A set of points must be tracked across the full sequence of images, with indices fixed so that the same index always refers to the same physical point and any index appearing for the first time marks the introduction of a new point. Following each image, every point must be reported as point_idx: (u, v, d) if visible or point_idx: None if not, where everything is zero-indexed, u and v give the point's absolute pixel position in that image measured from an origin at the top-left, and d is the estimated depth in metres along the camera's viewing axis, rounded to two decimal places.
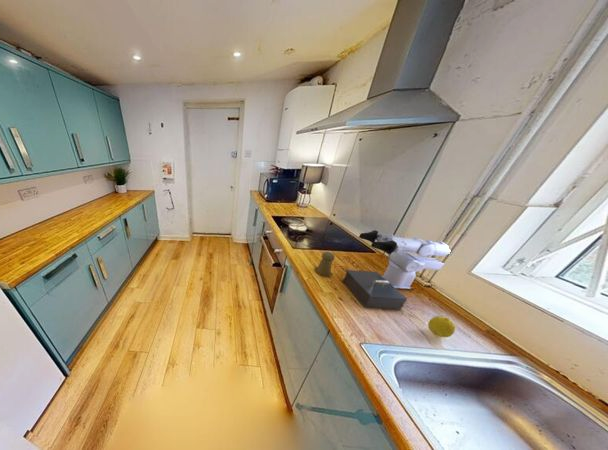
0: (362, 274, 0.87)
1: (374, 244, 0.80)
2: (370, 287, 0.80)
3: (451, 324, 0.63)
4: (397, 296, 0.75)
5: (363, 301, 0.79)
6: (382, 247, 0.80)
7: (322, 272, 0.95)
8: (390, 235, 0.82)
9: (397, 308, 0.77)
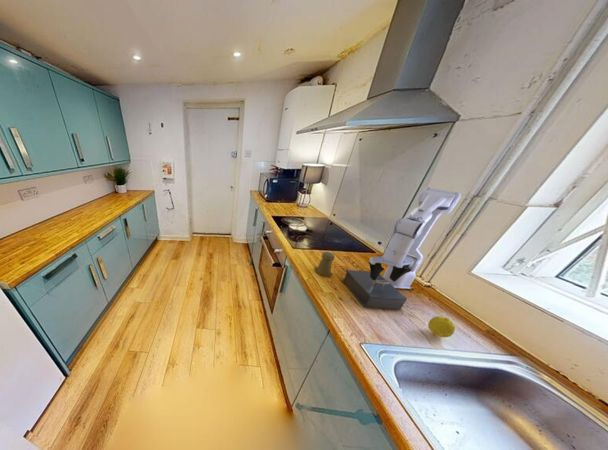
0: (362, 274, 0.87)
1: None
2: (370, 287, 0.80)
3: (451, 324, 0.63)
4: (397, 296, 0.75)
5: (363, 301, 0.79)
6: None
7: (322, 272, 0.95)
8: None
9: (397, 308, 0.77)
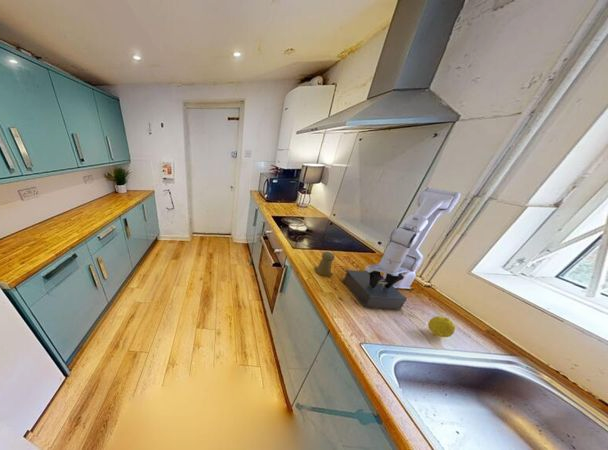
0: (362, 274, 0.87)
1: None
2: (370, 287, 0.80)
3: (451, 324, 0.63)
4: (397, 296, 0.75)
5: (363, 301, 0.79)
6: None
7: (322, 272, 0.95)
8: None
9: (397, 308, 0.77)
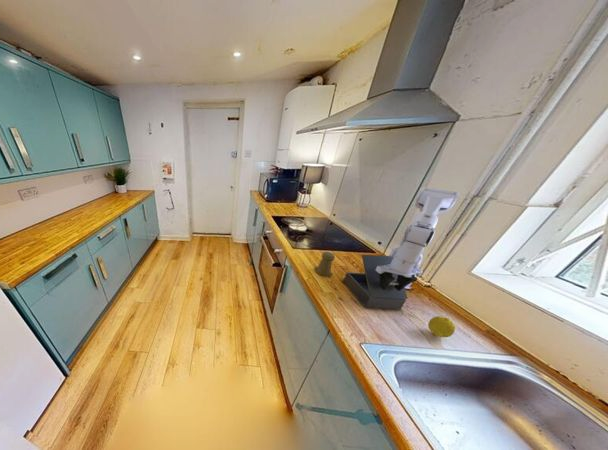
0: (378, 261, 0.79)
1: None
2: (377, 283, 0.76)
3: (451, 324, 0.63)
4: (399, 296, 0.75)
5: (363, 301, 0.79)
6: None
7: (322, 272, 0.95)
8: None
9: (397, 308, 0.77)
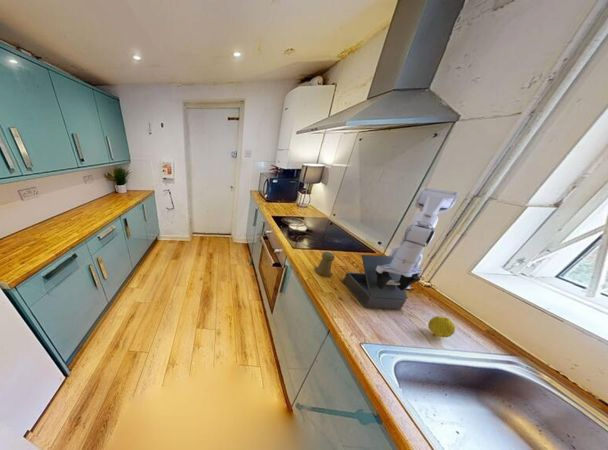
0: (378, 261, 0.79)
1: None
2: None
3: (451, 324, 0.63)
4: (399, 296, 0.75)
5: (363, 301, 0.79)
6: None
7: (322, 272, 0.95)
8: None
9: (397, 308, 0.77)
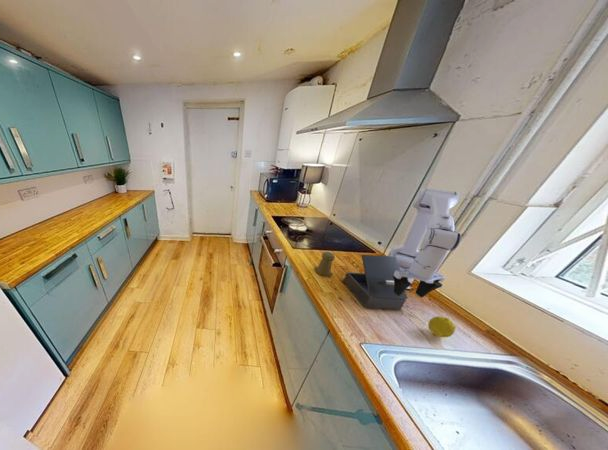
0: (378, 261, 0.79)
1: None
2: (377, 283, 0.76)
3: (451, 324, 0.63)
4: (399, 296, 0.75)
5: (363, 301, 0.79)
6: None
7: (322, 272, 0.95)
8: None
9: (397, 308, 0.77)
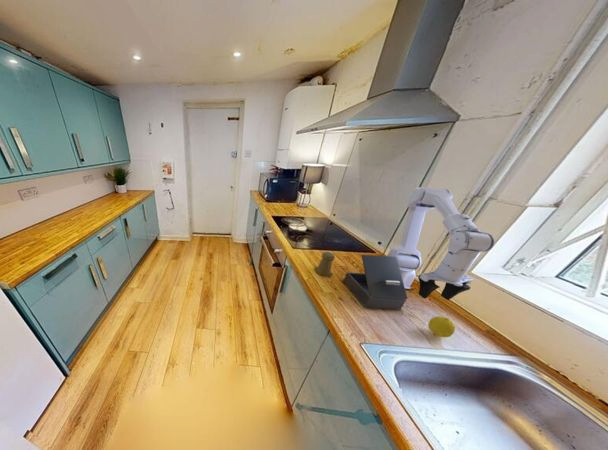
0: (378, 261, 0.79)
1: None
2: (377, 283, 0.76)
3: (451, 324, 0.63)
4: (399, 296, 0.75)
5: (363, 301, 0.79)
6: None
7: (322, 272, 0.95)
8: None
9: (397, 308, 0.77)
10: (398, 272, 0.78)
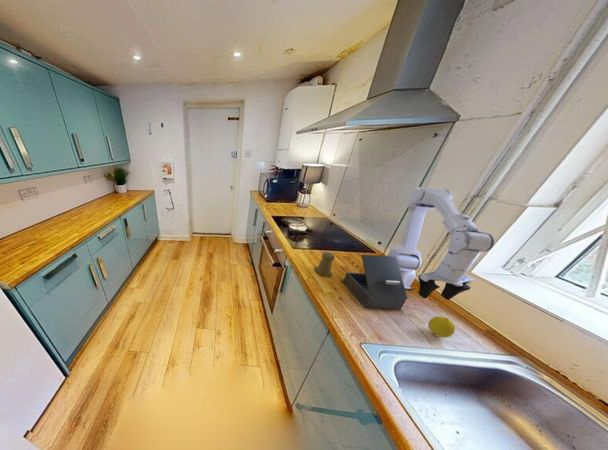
0: (378, 261, 0.79)
1: None
2: (377, 283, 0.76)
3: (451, 324, 0.63)
4: (399, 296, 0.75)
5: (363, 301, 0.79)
6: None
7: (322, 272, 0.95)
8: None
9: (397, 308, 0.77)
10: (398, 272, 0.78)
